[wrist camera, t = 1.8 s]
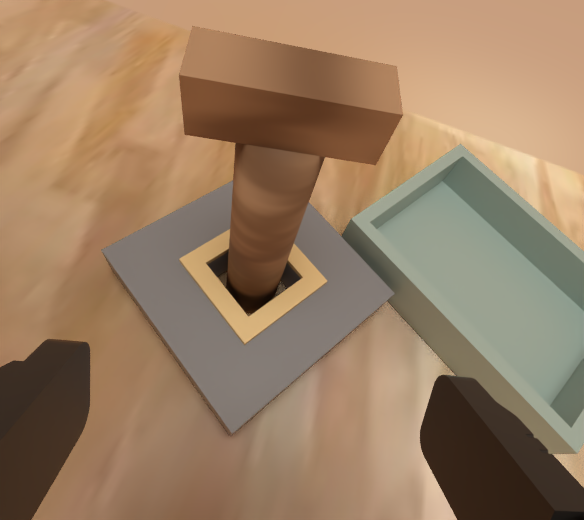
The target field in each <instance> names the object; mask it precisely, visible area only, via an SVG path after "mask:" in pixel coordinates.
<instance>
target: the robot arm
mask: <svg viewBox="0 0 584 520" xmlns="http://www.w3.org/2000/svg"><path fill="white" fill-rule="evenodd" d="M89 406H90V347H89V345H88V343H87V342H78V341H67V340H56V339H47V340H45V341H44V342H43V343H42V344H41V345H40V346H39V347H38V348H37V349H36V350H35V351H34V352H33V353H32V354H31V355H30V356H29V357H28V358H27V359H26V360H25V361H12V362H10V363H8V364H6V365H4V366H2V367H0V520H31V519H32V518H33V516H34V514H35V512H36V511H37V509H38V507H39V506H40V504H41V502H42V500H43V499H44V497H45V495H46V494H47V492H48V490H49V489H50V487H51V485H52V483H53V482H54V480H55V478H56V477H57V475H58V473H59V471H60V470H61V468H62V466H63V465H64V463H65V461H66V459H67V458H68V456H69V454H70V453H71V451H72V449H73V447H74V446H75V444H76V442H77V441H78V439H79V437H80V435H81V434H82V432H83V429H84V427H85V424H86V421H87V417H88V413H89ZM420 444H421V449H422V452H423V455H424V457H425V459H426V461H427V463H428V465H429V467H430V469H431V470H432V472H433V474H434V476H435V478H436V480H437V482H438V484H439V486H440V488H441V489H442V491H443V493H444V495H445V497H446V499H447V501H448V503H449V505H450V507H451V508H452V510H453V512H454V514H455V516H456V518H457V520H584V488H583V487H582V486H581V485H580V484H579V482H578V481H577V480H576V479H575V478H574V477H573V476H572V475H571V474H570V473H569V472H568V471H567V470H566V468H565V467H564V466H563V465H562V464H561V463H560V462H559V461H558V460H557V459H556V458H555V457H554V456H553V455H552V454H549V453H548V449H547V448H546V447H545V446H544V445H543V444H542V443H541V442H540V441H539V440H538V438H534V434H533V433H532V432H531V431H530V430H529V429H528V428H527V427H526V426H525V424H524V423H523V422H522V421H521V420H520V419H519V418H518V417H517V416H516V415H514V414H513V413H511V412H510V411H509V410H507V409H506V408H504V407H503V406H502V405H500V404H499V403H497V402H496V401H495V400H494V399H493V398H492V397H491V396H490V394H489V393H488V392H487V391H486V390H485V389H484V388H483V387H482V386H481V385H480V383H479V382H478V381H477V380H476V379H474V378H471V377H460V376H449V375H441V376H439V377H438V378H437V379H436V381H435V383H434V386H433V390H432V393H431V396H430V399H429V403H428V406H427V409H426V412H425V416H424V419H423V422H422V425H421V430H420Z"/></svg>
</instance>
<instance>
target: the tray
mask: <svg viewBox="0 0 584 520" xmlns="http://www.w3.org/2000/svg"><path fill="white" fill-rule="evenodd" d="M341 237H342V238H343V239H344V240H345V241H346V242H347V243H348V244H349V245H350V246H351V247H352V248H353V250H354V251H355V252H356V253H357V254H358V255H359V256H360V257H361V258H362V259H363V260H364V261H365V262H366V263H367V264H368V265H369V267H370V268H371V269H372V270H373V271H374V272H375V273H376V274H377V275H378V276H379V277H380V278H381V279H382V280H383V281H384V283H385V284H386V285H387V286H388V287H389V288H390V289H391V290H392V291H393V292H394V293H395V294H394V295H393V296H392V297H391V298H390V299H388V300H387V301H388V302H389V303H390V304H391V305H392V306H393V308H394V309H395V310H396V311H397V312H398V313H399V314H400V315H401V316H402V317H403V318H404V319H405V320H406V322H407V323H408V324H409V325H410V326H411V327H412V328H413V329H414V330H415V331H416V332H417V333H418V334H419V336H420V337H421V338H422V339H423V340H424V341H425V342H426V343H427V344H428V345H429V346H430V347H431V348H432V350H433V351H434V352H435V353H436V354H437V355H438V356H439V357H440V358H441V359H442V360H443V361H444V362H445V364H446V365H447V366H448V367H449V368H450V369H451V370H452V371H453V372H454V373H455V374H456V375H457V376H460V377H471V378H474V379H476V380H477V381H478V382H479V383H480V385H481V386H482V387H483V388H484V389H485V390H486V391H487V392H488V393H489V394H490V396H491V397H492V398H493V399H494V400H495V401H496V402H497V403H499V404H500V405H502V406H503V407H504V408H506V409H507V410H509V411H510V412H511V413H513V414H514V415H516V416H517V417H518V418H519V419H520V420H521V421H522V422H523V423H524V424H525V426H526V427H527V428H528V429H529V430H530V431H531V432H532V433H533V434H534V438H538V440H539V441H540V442H541V443H542V444H543V445H544V446H545V447H546V448H547V449H548V453H549V454H578V452H579V450H580V449H581V447H582V446H583V444H584V251H583V250H582V249H580V248H579V247H578V246H577V245H576V244H575V243H574V242H572V241H571V240H570V239H569V238H568V237H567V236H565V235H564V234H563V233H562V232H561V231H560V230H559V229H557V228H556V227H555V226H554V225H553V224H552V223H551V222H549V221H548V220H547V219H546V218H545V217H544V216H543V215H541V214H540V213H539V212H538V211H537V210H536V209H535V208H533V207H532V206H531V205H530V204H529V203H528V202H527V201H525V200H524V199H523V198H522V197H521V196H520V195H519V194H517V193H516V192H515V191H514V190H513V189H512V188H511V187H509V186H508V185H507V184H506V183H505V182H504V181H502V180H501V179H500V178H499V177H498V176H497V175H496V174H494V173H493V172H492V171H491V170H490V169H489V168H488V167H486V166H485V165H484V164H483V163H482V162H481V161H480V160H478V159H477V158H476V157H475V156H474V155H473V154H472V153H470V152H469V151H468V150H467V149H466V148H465V147H464V146H462V145H461V144H460V145H458V146H457V147H455V148H454V149H452V150H451V151H450V152H448V153H447V154H445V155H444V156H442V157H441V158H439V159H438V160H436V161H435V162H434V163H432V164H431V165H429V166H428V167H426V168H425V169H423V170H422V171H420V172H419V173H417V174H416V175H415V176H413V177H412V178H410V179H409V180H407V181H406V182H404V183H403V184H401V185H400V186H399V187H397V188H396V189H394V190H393V191H391V192H390V193H388V194H387V195H385V196H384V197H382V198H381V199H380V200H378V201H377V202H375V203H374V204H372V205H371V206H369V207H368V208H366V209H365V210H363V211H362V212H361V213H359V214H358V215H356V216H355V217H353V218H352V219H351V220H350V222H349V224H348V225H347V227H346V229H345V231H344V233H343V234H342V236H341Z"/></svg>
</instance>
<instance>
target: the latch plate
mask: <svg viewBox="0 0 584 520" xmlns="http://www.w3.org/2000/svg"><path fill="white" fill-rule="evenodd" d="M232 192H233V181H231V182H229V183H227V184H225V185H224V186H222V187H220V188H218V189H216V190H214V191H212V192H210V193H208V194H206V195H205V196H203V197H201V198H199V199H197V200H195V201H193V202H191V203H189V204H188V205H186V206H184V207H182V208H180V209H178V210H176V211H174V212H172V213H170V214H169V215H167V216H165V217H163V218H161V219H159V220H157V221H155V222H153V223H151V224H150V225H148V226H146V227H144V228H142V229H140V230H138V231H136V232H134V233H133V234H131V235H129V236H127V237H125V238H123V239H121V240H119V241H117V242H115V243H114V244H112V245H110V246H108V247H106V248H104V249H102V250H101V251H102V253H103V254H104V256H105V258H106V260H107V262H108V264H109V265H110V267H111V269H112V271H113V272H114V274H115V275H116V276H117V278H118V279H119V281H120V282H121V283H122V285H123V286H124V288H125V289H126V291H127V292H128V293H129V295H130V296H131V298H132V299H133V300H134V302H135V303H136V305H137V306H138V307H139V309H140V310H141V312H142V313H143V314H144V316H145V317H146V319H147V320H148V322H149V323H150V324H151V326H152V327H153V329H154V330H155V331H156V333H157V334H158V336H159V337H160V338H161V340H162V341H163V343H164V344H165V345H166V347H167V348H168V350H169V351H170V352H171V354H172V355H173V357H174V358H175V360H176V361H177V362H178V364H179V365H180V367H181V368H182V369H183V371H184V372H185V374H186V375H187V376H188V378H189V379H190V381H191V382H192V383H193V385H194V386H195V388H196V389H197V391H198V392H199V393H200V395H201V396H202V398H203V399H204V400H205V402H206V403H207V405H208V406H209V407H210V409H211V410H212V412H213V413H214V414H215V416H216V417H217V419H218V420H219V422H220V423H221V424H222V426H223V427H224V429H225V430H226V431H227V433H228V434H229V436H232V435H233V434H234V433H235V432H236V431H237V430H239V429H240V428H241V427H242V426H243V425H244V424H245V423H247V422H248V421H249V420H250V419H251V418H252V417H254V416H255V415H256V414H257V413H258V412H259V411H261V410H262V409H263V408H264V407H265V406H266V405H268V404H269V403H270V402H271V401H272V400H273V399H274V398H276V397H277V396H278V395H279V394H280V393H281V392H283V391H284V390H285V389H286V388H287V387H288V386H290V385H291V384H292V383H293V382H294V381H295V380H296V379H298V378H299V377H300V376H301V375H302V374H303V373H305V372H306V371H307V370H308V369H309V368H310V367H312V366H313V365H314V364H315V363H316V362H317V361H319V360H320V359H321V358H322V357H323V356H324V355H325V354H327V353H328V352H329V351H330V350H331V349H332V348H334V347H335V346H336V345H337V344H338V343H339V342H341V341H342V340H343V339H344V338H345V337H346V336H347V335H349V334H350V333H351V332H352V331H353V330H354V329H356V328H357V327H358V326H359V325H360V324H361V323H363V322H364V321H365V320H366V319H367V318H368V317H370V316H371V315H372V314H373V313H374V312H375V311H376V310H378V309H379V308H380V307H381V306H382V305H383V304H384V303H385V302H386V301H387V300H388V299H390V298H391V297H392V296H393V295H394V294H395V293H394V292H393V291H392V290H391V289H390V288H389V287H388V286H387V285H386V284H385V283H384V281H383V280H382V279H381V278H380V277H379V276H378V275H377V274H376V273H375V272H374V271H373V270H372V269H371V268H370V267H369V265H368V264H367V263H366V262H365V261H364V260H363V259H362V258H361V257H360V256H359V255H358V254H357V253H356V252H355V251H354V250H353V248H352V247H351V246H350V245H349V244H348V243H347V242H346V241H345V240H344V239H343V238H342V237H341V236H340V235H339V234H338V233H337V231H336V230H335V229H334V228H333V227H332V226H331V225H330V224H329V223H328V222H327V221H326V220H325V219H324V218H323V217H322V215H321V214H320V213H319V212H318V211H317V210H316V209H315V208H314V207H313V206H312V205H311V204H310V203H309V202H308V205H307V208H306V211H305V214H304V216H303V219H302V222H301V225H300V227H299V230H298V233H297V236H296V238H295V241H294V244H293V247H292V249H291V252H290V255H289V258H288V261H287V263H286V266H285V269H284V272H283V274H282V277H281V281H282V282H283V284H284V285H285V286H286V287H287V288H288V289H286V290H285V291H284V292H282V293H281V294H279V295H278V296H277V297H275V298H274V299H273V300H271V301H270V302H268V303H267V304H266V305H264V306H263V307H261V308H260V309H259V310H257V311H256V312H255V313H253V314H252V315H250V316H249V317H248V315H247V314H246V313H245V312H244V310H243V309H242V308H241V307H240V305H239V304H238V303H237V302H236V300H235V299H234V298H233V297H232V295H231V294H230V293H229V292H228V290H227V289H226V288H225V287H224V285H223V284H222V283H221V282H220V280H219V279H218V278H217V277H218V276H219V275H221V274H222V273H224V272H226V271H227V270H228V255H229V239H230V223H231V208H232Z"/></svg>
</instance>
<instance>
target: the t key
mask: <svg viewBox="0 0 584 520" xmlns="http://www.w3.org/2000/svg"><path fill="white" fill-rule="evenodd" d="M179 79H180V90H181V100H182V111H183V122H184V132H185V135H191V136H197V137H203V138H209V139H216V140H222V141H228V142H234V143H236V145H235V161H234V176H233V192H232V208H231V223H230V239H229V255H228V270H227V286H226V289H227V290H228V292H229V293H230V294H231V295H232V297H233V298H234V299H235V300H236V302H237V303H238V304H239V305H240V307H241V308H242V309H243V310H244V312H245V313H255V312H256V311H257V310H259V309H260V308H261V307H263V306H264V305H266V304H267V303H268V302H270V301H271V300H273V299H274V297H275V294H276V291H277V288H278V285H279V283H280V280H281V277H282V274H283V272H284V269H285V266H286V263H287V261H288V258H289V255H290V252H291V249H292V247H293V244H294V241H295V238H296V236H297V233H298V230H299V227H300V225H301V222H302V219H303V216H304V214H305V211H306V208H307V205H308V202H309V200H310V197H311V194H312V191H313V189H314V186H315V183H316V180H317V178H318V175H319V172H320V169H321V166H322V164H323V161H324V158H325V157H328V158H334V159H341V160H347V161H353V162H359V163H366V164H372V165H376V164H377V162H378V160H379V158H380V156H381V154H382V153H383V151H384V149H385V147H386V145H387V143H388V142H389V140H390V138H391V136H392V134H393V132H394V130H395V129H396V127H397V125H398V123H399V121H400V119H401V118H402V116H403V112H402V104H401V96H400V88H399V80H398V72H397V67H396V66H393V65H388V64H383V63H378V62H372V61H367V60H362V59H357V58H352V57H347V56H342V55H337V54H332V53H327V52H322V51H317V50H312V49H307V48H302V47H296V46H291V45H286V44H281V43H276V42H271V41H266V40H261V39H256V38H250V37H245V36H240V35H236V34H230V33H225V32H220V31H215V30H210V29H205V28H200V27H195V26H192V30H191V33H190V37H189V40H188V44H187V48H186V51H185V55H184V59H183V62H182V66H181V70H180V73H179Z"/></svg>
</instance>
